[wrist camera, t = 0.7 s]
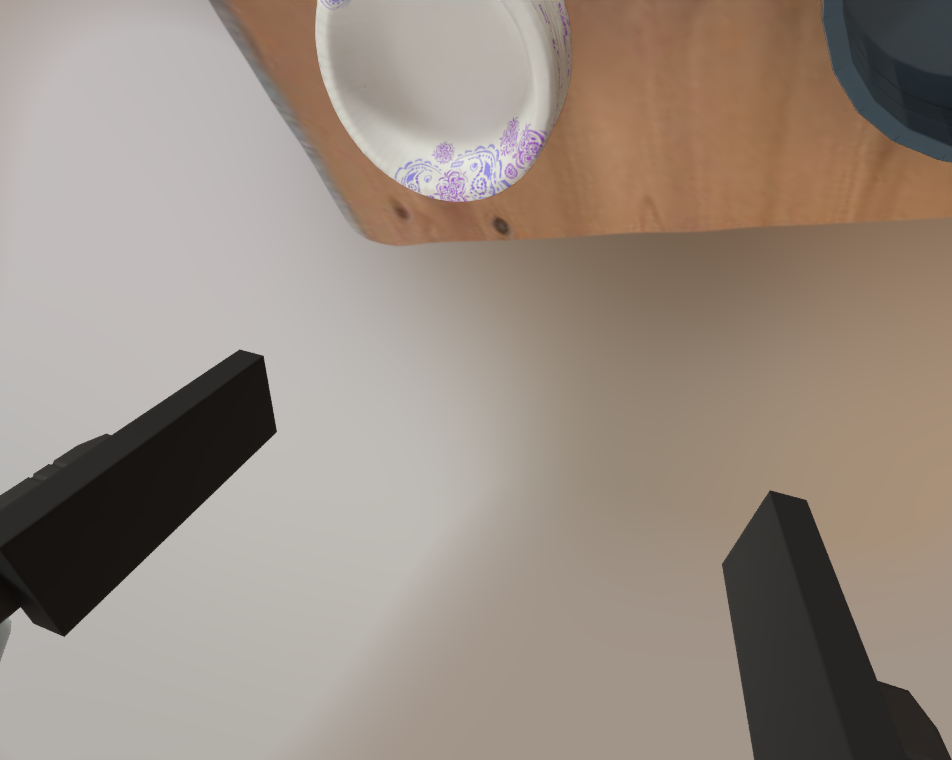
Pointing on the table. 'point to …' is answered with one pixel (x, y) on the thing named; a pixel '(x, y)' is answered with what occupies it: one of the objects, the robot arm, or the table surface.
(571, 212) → the table surface
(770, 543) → the robot arm
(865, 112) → the bowl
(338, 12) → the paper bowls
